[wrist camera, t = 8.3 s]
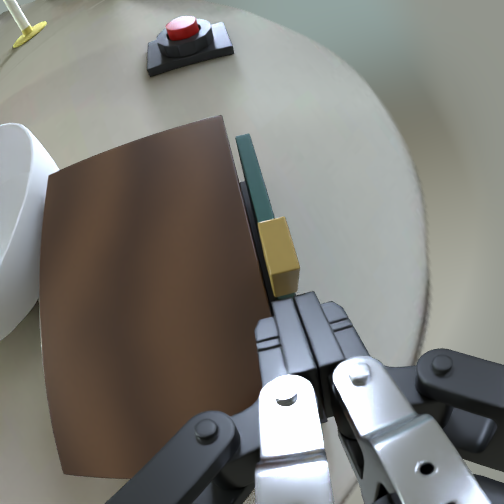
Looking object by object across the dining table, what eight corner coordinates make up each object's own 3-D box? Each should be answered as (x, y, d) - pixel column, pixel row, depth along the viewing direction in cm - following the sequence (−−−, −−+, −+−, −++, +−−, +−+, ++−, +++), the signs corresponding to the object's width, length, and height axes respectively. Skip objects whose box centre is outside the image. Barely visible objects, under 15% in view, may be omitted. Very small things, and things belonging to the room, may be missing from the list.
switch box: (224, 28, 34) (220, 10, 32) (234, 53, 32) (230, 33, 29) (150, 49, 35) (143, 32, 32) (150, 76, 32) (141, 58, 29)
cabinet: (262, 180, 25) (252, 107, 18) (326, 420, 18) (349, 447, 11) (102, 225, 25) (48, 174, 18) (129, 450, 18) (63, 474, 11)
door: (261, 197, 23) (243, 89, 14) (294, 318, 20) (300, 268, 11) (248, 200, 23) (223, 94, 14) (278, 322, 20) (270, 275, 11)
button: (197, 24, 31) (194, 12, 30) (200, 36, 30) (197, 24, 28) (168, 32, 31) (165, 21, 30) (169, 44, 30) (165, 33, 29)
